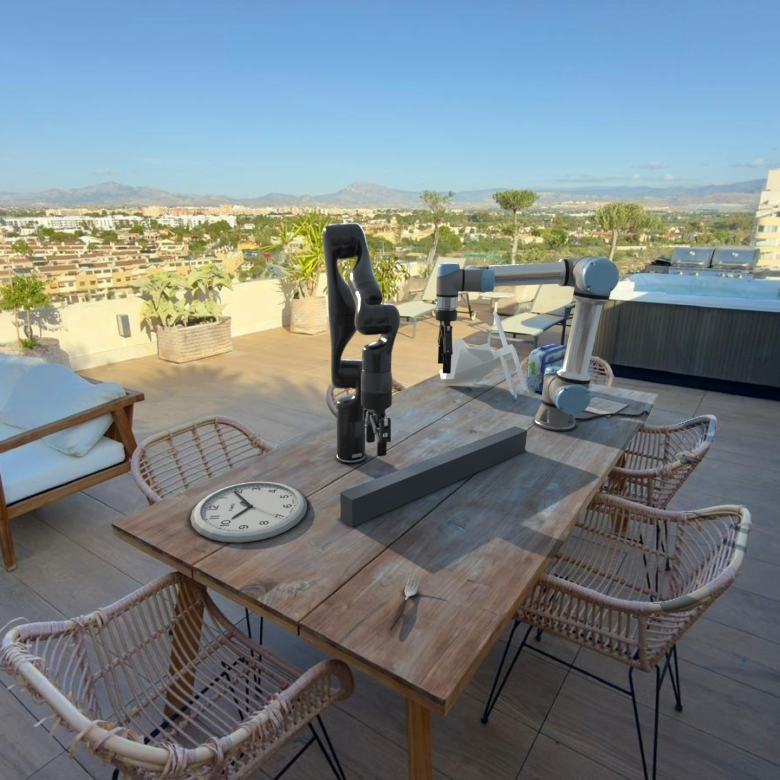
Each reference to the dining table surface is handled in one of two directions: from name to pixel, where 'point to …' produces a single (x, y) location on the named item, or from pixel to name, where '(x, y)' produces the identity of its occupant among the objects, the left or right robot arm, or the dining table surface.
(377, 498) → the beam
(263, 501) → the wall clock
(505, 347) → the white plastic object
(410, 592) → the fork
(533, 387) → the lunch box
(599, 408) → the invitation card
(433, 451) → the dining table surface
